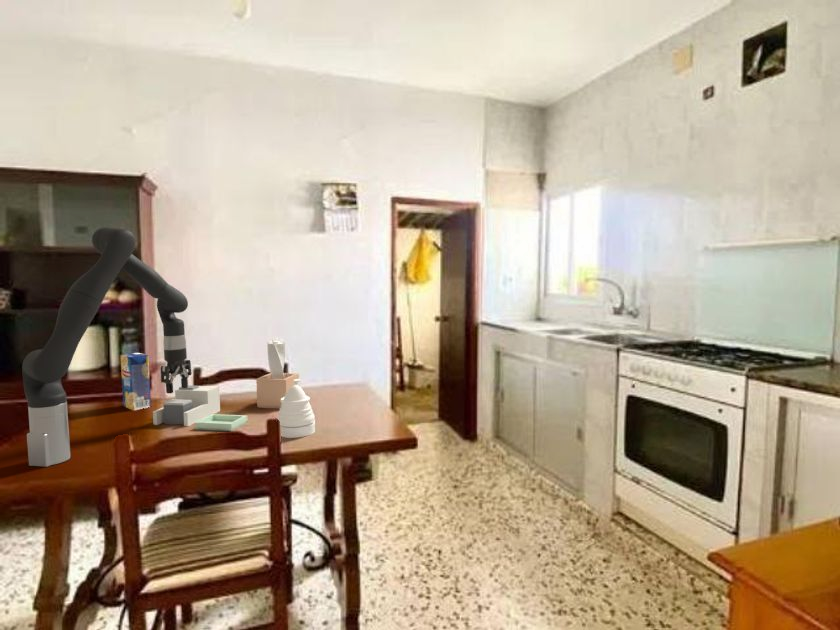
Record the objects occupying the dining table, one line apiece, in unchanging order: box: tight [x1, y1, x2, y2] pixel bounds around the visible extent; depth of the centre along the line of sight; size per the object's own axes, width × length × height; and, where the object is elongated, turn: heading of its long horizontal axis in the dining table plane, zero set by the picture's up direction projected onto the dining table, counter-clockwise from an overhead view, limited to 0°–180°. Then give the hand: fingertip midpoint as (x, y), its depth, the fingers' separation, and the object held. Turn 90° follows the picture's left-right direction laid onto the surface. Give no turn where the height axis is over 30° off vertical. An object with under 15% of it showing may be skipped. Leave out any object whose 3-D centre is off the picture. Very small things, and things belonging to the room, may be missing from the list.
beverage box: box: [120, 352, 152, 411], centre depth 212 cm, size 7×11×22 cm, turn 49°
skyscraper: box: [267, 337, 289, 379], centre depth 214 cm, size 8×8×28 cm
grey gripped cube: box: [162, 398, 192, 425], centre depth 189 cm, size 5×8×8 cm, turn 80°
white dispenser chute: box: [152, 384, 221, 427], centre depth 195 cm, size 21×14×11 cm, turn 170°
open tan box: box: [255, 372, 300, 409], centre depth 214 cm, size 13×13×12 cm
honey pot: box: [276, 378, 316, 439], centre depth 176 cm, size 13×13×18 cm
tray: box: [194, 413, 248, 432], centre depth 184 cm, size 11×14×2 cm
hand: (177, 390), depth 189 cm, fingers open, 8 cm apart
